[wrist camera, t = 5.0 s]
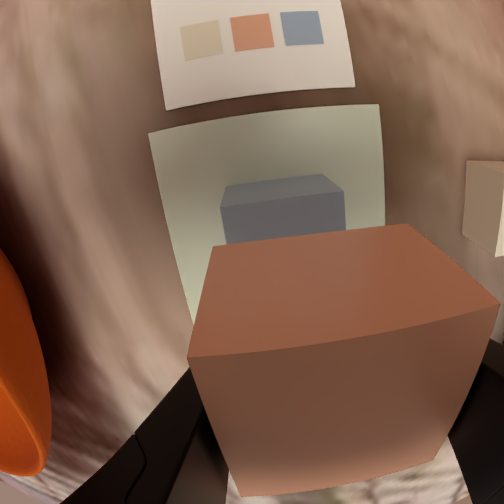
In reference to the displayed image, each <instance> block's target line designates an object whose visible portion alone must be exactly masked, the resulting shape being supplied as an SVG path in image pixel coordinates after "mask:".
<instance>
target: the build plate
mask: <svg viewBox="0 0 504 504" xmlns="http://www.w3.org/2000/svg"><path fill="white" fill-rule="evenodd" d="M148 136H149V141H150V146H151V152H152V157H153V162H154V167H155V172H156V177H157V181H158V186H159V191H160V195H161V200H162V204H163V209H164V213H165V218H166V222H167V226H168V230H169V235H170V239H171V243H172V247H173V251H174V255H175V259H176V263H177V266H178V270H179V274H180V278H181V282H182V285H183V289H184V293H185V296H186V300H187V303H188V307H189V311H190V314H191V317H192V321H193V324H194V323H195V318H196V314H197V310H198V305H199V301H200V297H201V293H202V289H203V284H204V280H205V276H206V272H207V268H208V264H209V260H210V256H211V252H212V248H213V246H219V245H227V244H226V239H225V234H224V228H223V223H222V217H221V212H220V205H221V201H222V198H223V194H224V191H225V188H226V186H232V185H238V184H245V183H252V182H259V181H267V180H274V179H282V178H290V177H298V176H307V175H316V174H323V175H324V176H326V177H327V178H328V179H329V180H331V181H332V182H333V183H334V184H336V185H337V186H338V187H339V188H341V189H342V190H343V191H344V200H345V220H346V230H351V229H360V228H368V227H377V226H385V187H384V163H383V146H382V133H381V122H380V111H379V104H365V105H340V106H323V107H310V108H298V109H288V110H278V111H270V112H262V113H254V114H247V115H240V116H233V117H227V118H221V119H215V120H209V121H204V122H198V123H193V124H188V125H183V126H178V127H173V128H169V129H164V130H160V131H155V132H151V133H148Z"/></svg>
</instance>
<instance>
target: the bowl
mask: <svg viewBox="0 0 504 504" xmlns="http://www.w3.org/2000/svg"><path fill="white" fill-rule="evenodd" d="M51 421H52V416H51V400H50V392H49V385H48V379H47V372H46V368H45V363H44V359H43V354H42V350H41V346H40V343H39V339H38V335H37V332H36V329H35V326H34V323H33V320H32V315H31V310H30V306H29V302H28V299H27V296H26V294H25V291H24V289H23V286H22V284H21V282H20V280H19V278H18V276H17V274H16V272H15V270H14V268H13V266H12V265H11V263H10V262H9V260H8V258H7V257H6V255H5V254H4V252H3V251H2V250H1V248H0V471H3V472H6V473H9V474H12V475H17V476H34V475H37V474H39V473H40V472H41V471H42V470H43V468H44V466H45V464H46V462H47V458H48V454H49V450H50V442H51Z"/></svg>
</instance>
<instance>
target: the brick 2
mask: <svg viewBox="0 0 504 504" xmlns="http://www.w3.org/2000/svg"><path fill="white" fill-rule="evenodd" d="M462 234H463V235H464V236H466V237H467V238H468V239H470V240H471V241H473V242H474V243H476V244H477V245H478V246H480V247H481V248H483V249H484V250H485V251H487V252H488V253H489V254H491V255H492V256H494V257H499V256H504V161H466V187H465V203H464V215H463V226H462Z"/></svg>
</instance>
